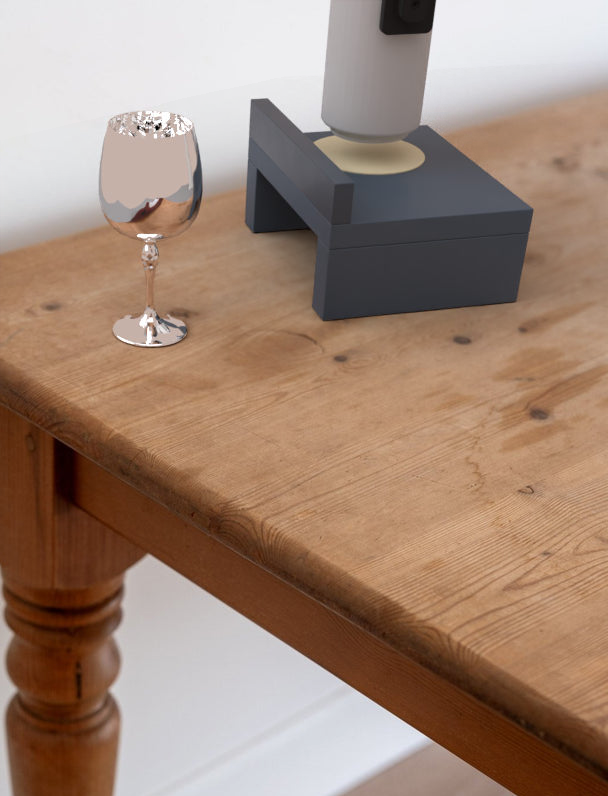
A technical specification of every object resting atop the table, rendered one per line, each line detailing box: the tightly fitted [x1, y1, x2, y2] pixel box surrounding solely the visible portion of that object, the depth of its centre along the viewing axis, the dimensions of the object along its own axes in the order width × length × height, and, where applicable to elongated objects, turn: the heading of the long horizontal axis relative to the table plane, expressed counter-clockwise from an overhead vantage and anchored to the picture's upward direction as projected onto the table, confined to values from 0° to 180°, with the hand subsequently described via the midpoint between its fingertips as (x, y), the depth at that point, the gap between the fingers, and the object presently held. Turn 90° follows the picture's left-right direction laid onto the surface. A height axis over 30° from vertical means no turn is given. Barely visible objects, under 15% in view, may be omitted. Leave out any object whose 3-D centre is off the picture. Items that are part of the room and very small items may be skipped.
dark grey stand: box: [244, 97, 535, 321], centre depth 84 cm, size 13×16×8 cm
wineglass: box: [97, 110, 204, 348], centre depth 73 cm, size 6×6×12 cm
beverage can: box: [320, 0, 437, 144], centre depth 80 cm, size 6×6×12 cm
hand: (382, 14), depth 80 cm, fingers closed on beverage can, 6 cm apart
